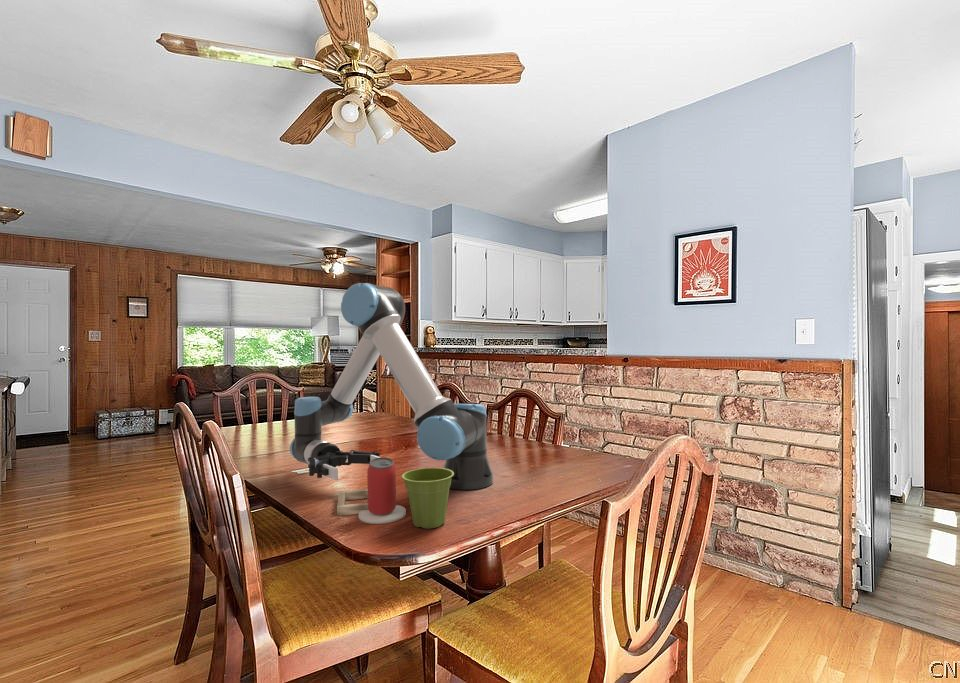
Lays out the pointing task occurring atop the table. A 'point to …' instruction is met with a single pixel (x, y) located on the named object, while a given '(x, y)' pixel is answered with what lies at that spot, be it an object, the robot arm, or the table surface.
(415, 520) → the plant pot
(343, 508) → the frame
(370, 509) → the beer can
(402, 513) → the white plate
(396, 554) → the table surface
